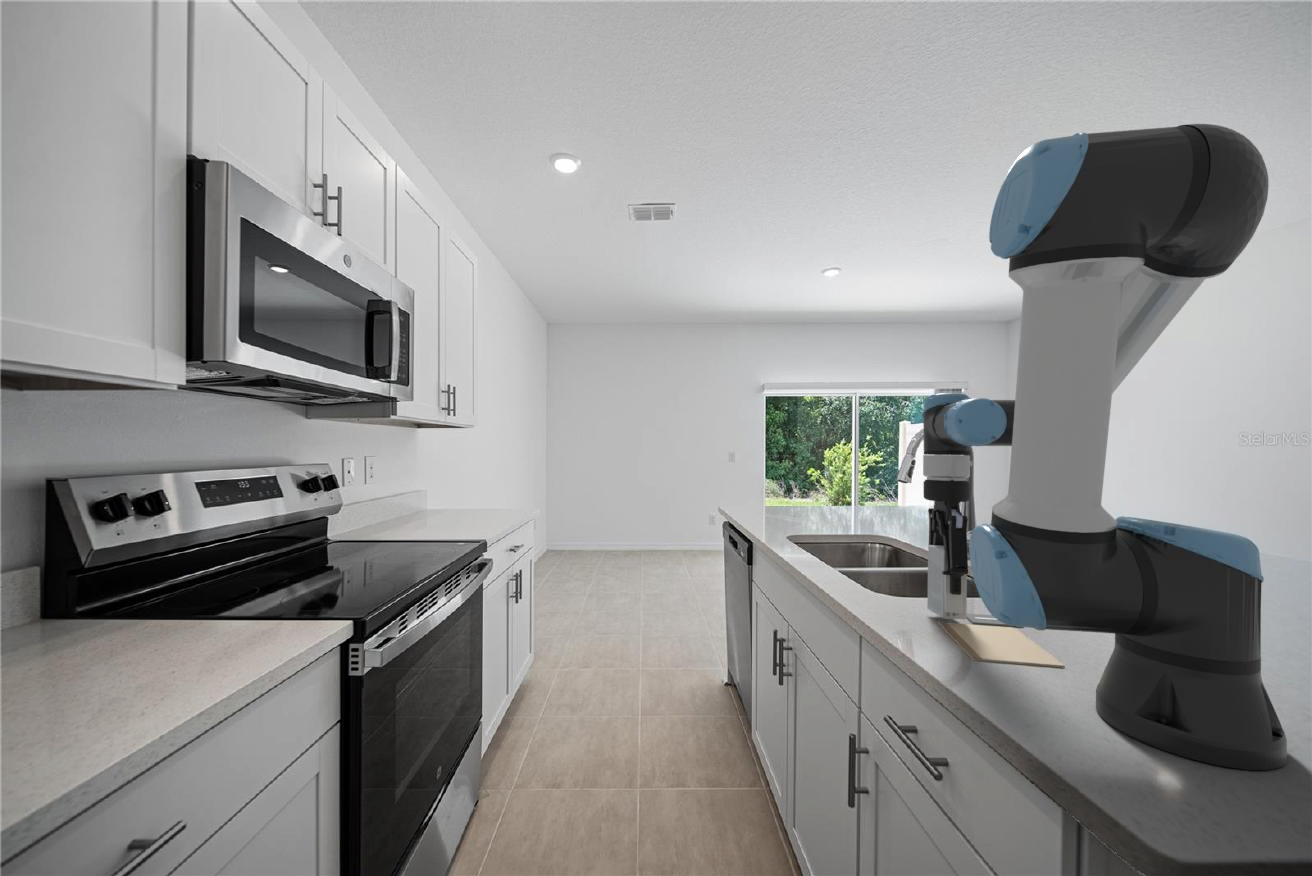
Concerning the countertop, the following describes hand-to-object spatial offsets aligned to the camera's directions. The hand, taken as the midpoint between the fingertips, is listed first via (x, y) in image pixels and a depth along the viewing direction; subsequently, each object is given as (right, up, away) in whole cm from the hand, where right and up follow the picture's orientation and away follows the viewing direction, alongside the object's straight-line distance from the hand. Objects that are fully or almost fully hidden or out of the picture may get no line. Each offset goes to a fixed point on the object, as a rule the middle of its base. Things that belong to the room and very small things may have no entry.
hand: (946, 606), depth 97 cm
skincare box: (0, -2, 0) cm, 2 cm away
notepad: (+2, -2, -11) cm, 12 cm away
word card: (+8, -3, 0) cm, 9 cm away
